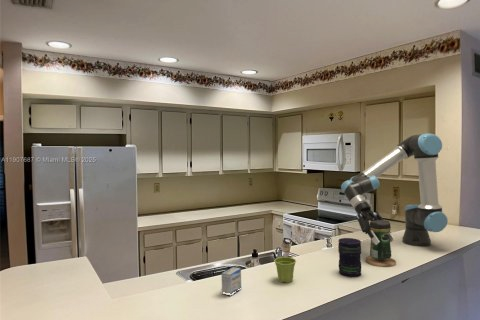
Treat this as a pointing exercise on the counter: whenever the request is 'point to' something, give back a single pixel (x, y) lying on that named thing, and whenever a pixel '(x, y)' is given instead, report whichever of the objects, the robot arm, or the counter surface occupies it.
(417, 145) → the robot arm
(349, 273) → the storage jar
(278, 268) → the plant pot
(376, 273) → the counter surface
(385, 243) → the coffee jar
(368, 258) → the plate
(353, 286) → the counter surface
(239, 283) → the medicine box
